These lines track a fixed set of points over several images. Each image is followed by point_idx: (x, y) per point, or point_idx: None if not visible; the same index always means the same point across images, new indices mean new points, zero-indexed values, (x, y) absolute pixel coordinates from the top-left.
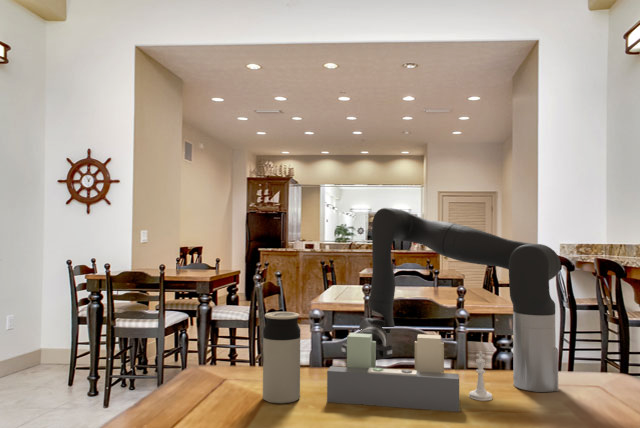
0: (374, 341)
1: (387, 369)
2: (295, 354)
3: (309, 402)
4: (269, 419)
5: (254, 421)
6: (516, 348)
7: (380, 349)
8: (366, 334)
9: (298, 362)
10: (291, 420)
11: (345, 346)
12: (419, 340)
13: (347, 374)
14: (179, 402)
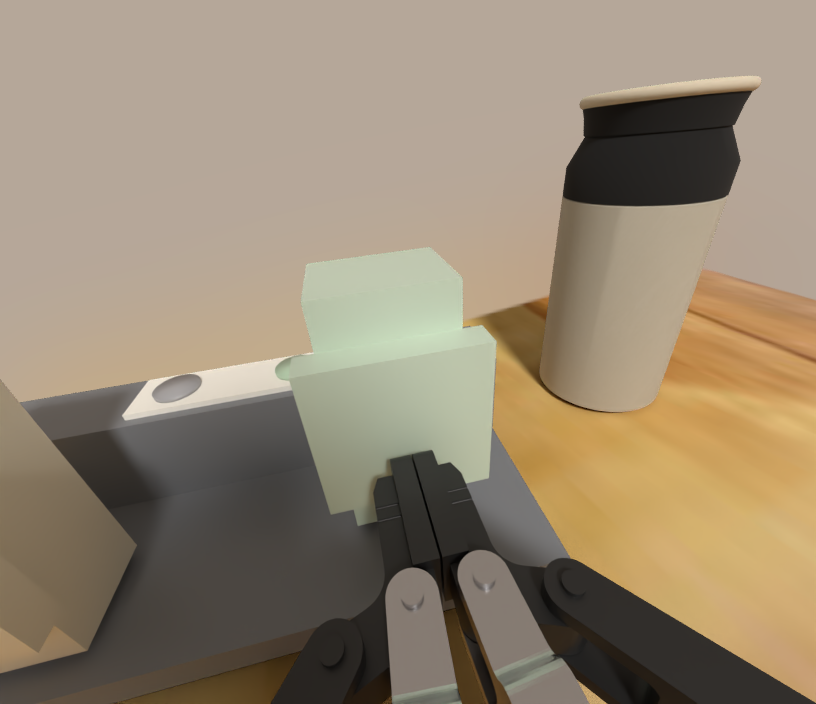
0: (298, 370)
1: (257, 384)
2: (556, 250)
3: (508, 389)
4: (505, 316)
5: (519, 307)
6: None
7: (277, 697)
8: (339, 287)
9: (555, 284)
10: (468, 324)
11: (755, 674)
12: None
13: None
14: (725, 304)
